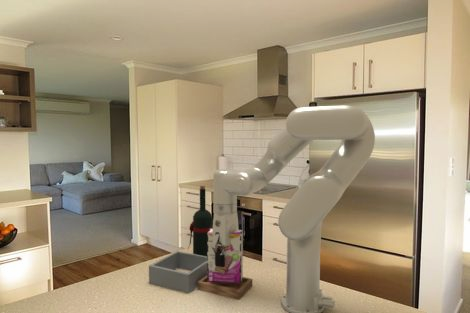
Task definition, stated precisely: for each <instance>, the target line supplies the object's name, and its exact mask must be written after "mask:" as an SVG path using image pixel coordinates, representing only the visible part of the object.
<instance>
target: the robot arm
mask: <svg viewBox="0 0 470 313" xmlns="http://www.w3.org/2000/svg"><path fill="white" fill-rule="evenodd" d="M314 140H315V141H318V140H319V141H320V140H321V141H323V140H324V141H325V140H326V141H329V140H332V141H333V140H337V141H340V140H341V141H340V143H339V145H338V146H337V148H336V149H334V151H333V152H332V153H331V155H330V156H329V157H328V159H327V161H326V162H324V164H323V166H322V167H321V168H320V169H319V170H318V171H316V172H314V173H313V174H310V176H308V177H307V178H306V179H305V180H304V181H303V182H302V183H301V185H300V186H299V187H298V189H297V190H296V191H295V193H294V194H293V195H292V197H291V198H290V200H289V201H288V202H287V203H286V205H284V207H283V208H282V210H281V211H280V213H279V215H278V220H277V223H278V228H279V230H280V232H281V235H283V236H284V237H285V238H286V239H287V240H286V243H287V244H286V281H285V282H286V284H285V285H286V288H285V289H286V293H285V294H283V295H282V296H281V298H280V304H281V307H282V308H283V309H284V310H285V311H287V312H288V313H322V312H323V311H324V310H325V307H327V308H332V309H335V305H336V304H335V303H336V302H335V300H333V297H332V296H327V295H324V294H323V289H321V288H320V287H321V286H320V283H321V282H320V280H321V278H320V277H321V247H322V246H321V244H322V243H321V241H322V240H321V239H322V229H323V220H324V219H325V218H326V216H327V215H328V214H329V213H330V211H331V210H332V209H333V208H334V207H335V206H336V205H337V203H338V201H339V200H340V199H341V198H342V196H343V194H344V193H345V191H346V190H347V188H348V187H349V186H350V185H351V183H352V182H353V181H354V180H355V179H356V177H357V175H358V174H359V172H361V171H362V169H363V168H364V167H365V165H366V164H367V162H368V161H369V159H370V158H371V155H372V154H373V151H374V148H375V142H376V141H375V140H376V136H375V130H374V127H373V124H372V122H371V119H370V117H369V116H368V114H367V113H366V112H365V111H364V110H362V109H360V108H359V107H357V106H354V105H349V104H344V105H324V106H301V107H297V108H295V109H293V110H292V111H290V113H289V114H288V116H287V117H286V122H285V126H283V128H282V129H280V130H279V131H278V132H277V133H276V134H275V135H274V136H273V137H272V138H270V140H269V141H268V142H267V149H266V152H265V153H264V154H263V156H262V157H261V158H260V159H259V160H258V161H257V162H256V163H255V164H254V165H253V166H252V167H251V168H249V169H245V170H242V171H241V170H240V171H236V170H234V169H230V168H229V169H227V168H226V169H223V168H222V169H216V170H215V171H214V172H213V173H212V174H213V179H212V182H213V187H212V188H213V189H212V190H213V192H212V193H213V195H212V196H213V202H212V203H213V212H212V213H213V218H212V225H213V243H212V246H211V247H212V249H213V251H214V254H215V266H218V267H225V255H224V248H225V247H226V246H228V245H230V244H231V236H230V235H231V233H233V232H234V231H236V230H240V229H239V218H238V211H237V210H238V200H237V199H238V196H240V197H241V196H242V197H246V196H250V195H251V194H255V193H256V192H259V191H260V190H262V189H264V188H265V187H266V186H267V185H268V184H269V183H270V182H272V180H273V179H275V178H277V176H278V175H279V174H280V173H281V171H282V170H283V169H285V168H286V167H287V166H288V164H289V163H290V162H291V161H292V160H293V159H295V157H297V156H298V155H299V154H300V153H301V152H302V151H303V150H304V149H306V147H307V146H309V145H310V144H312V142H313V141H314ZM218 242H220V243H221V244H222V245H221V244H218ZM218 246H221V250H220V248H218Z"/></svg>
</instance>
